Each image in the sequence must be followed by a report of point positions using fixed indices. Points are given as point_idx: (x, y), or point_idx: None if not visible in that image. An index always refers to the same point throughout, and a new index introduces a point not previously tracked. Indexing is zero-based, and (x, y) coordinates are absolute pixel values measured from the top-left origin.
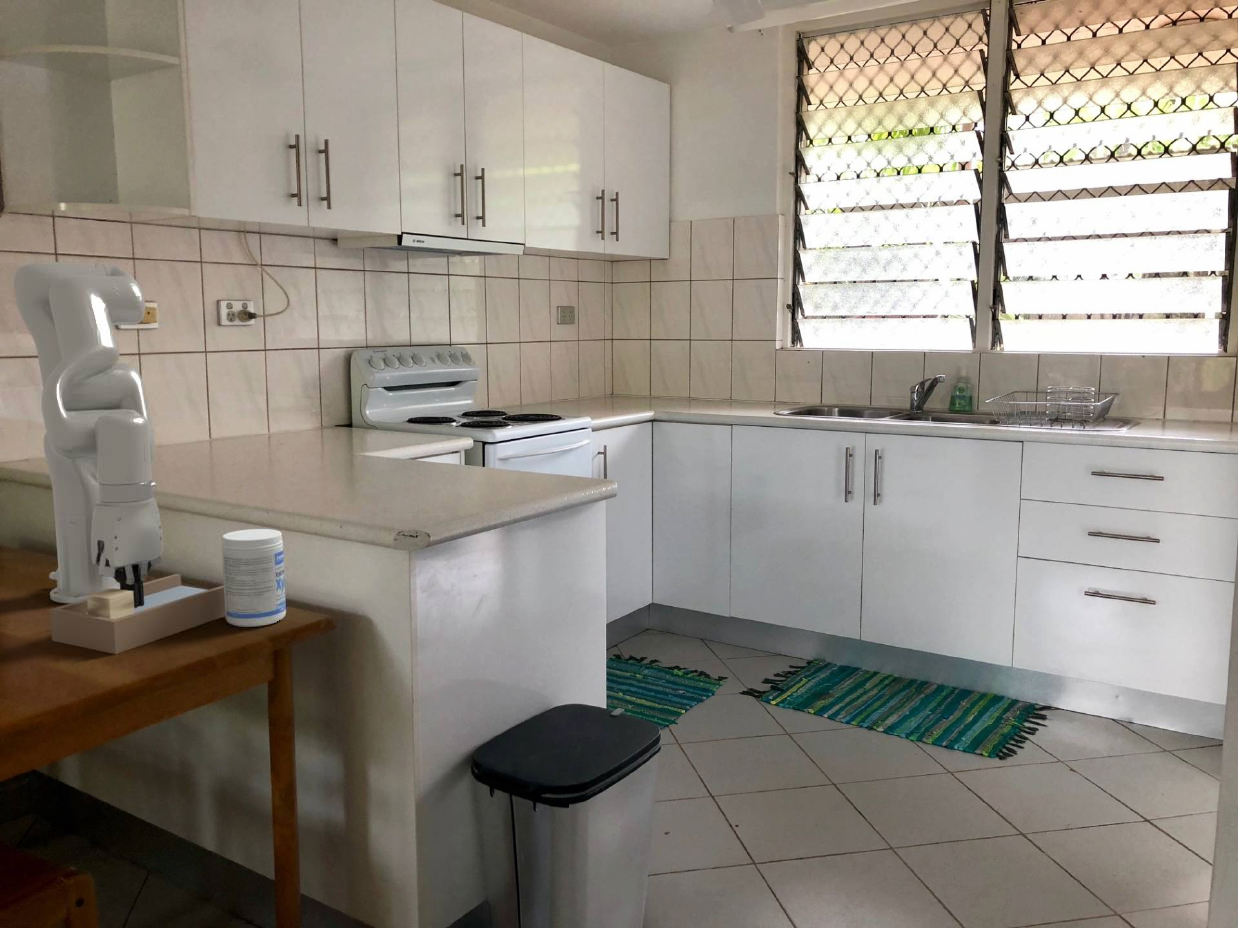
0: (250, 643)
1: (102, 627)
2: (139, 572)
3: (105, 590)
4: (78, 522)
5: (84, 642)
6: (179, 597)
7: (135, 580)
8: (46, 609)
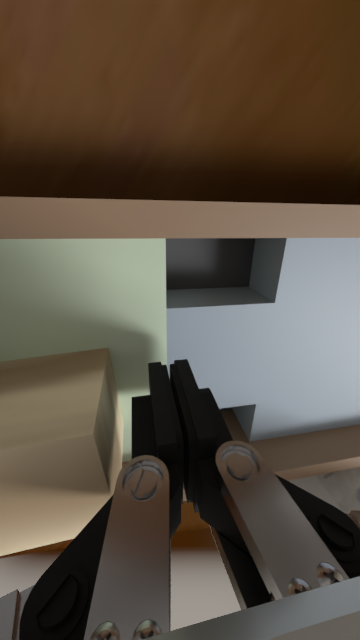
0: (200, 526)
1: None
2: (225, 562)
3: (42, 449)
4: None
5: None
6: (341, 346)
7: (197, 498)
8: None
